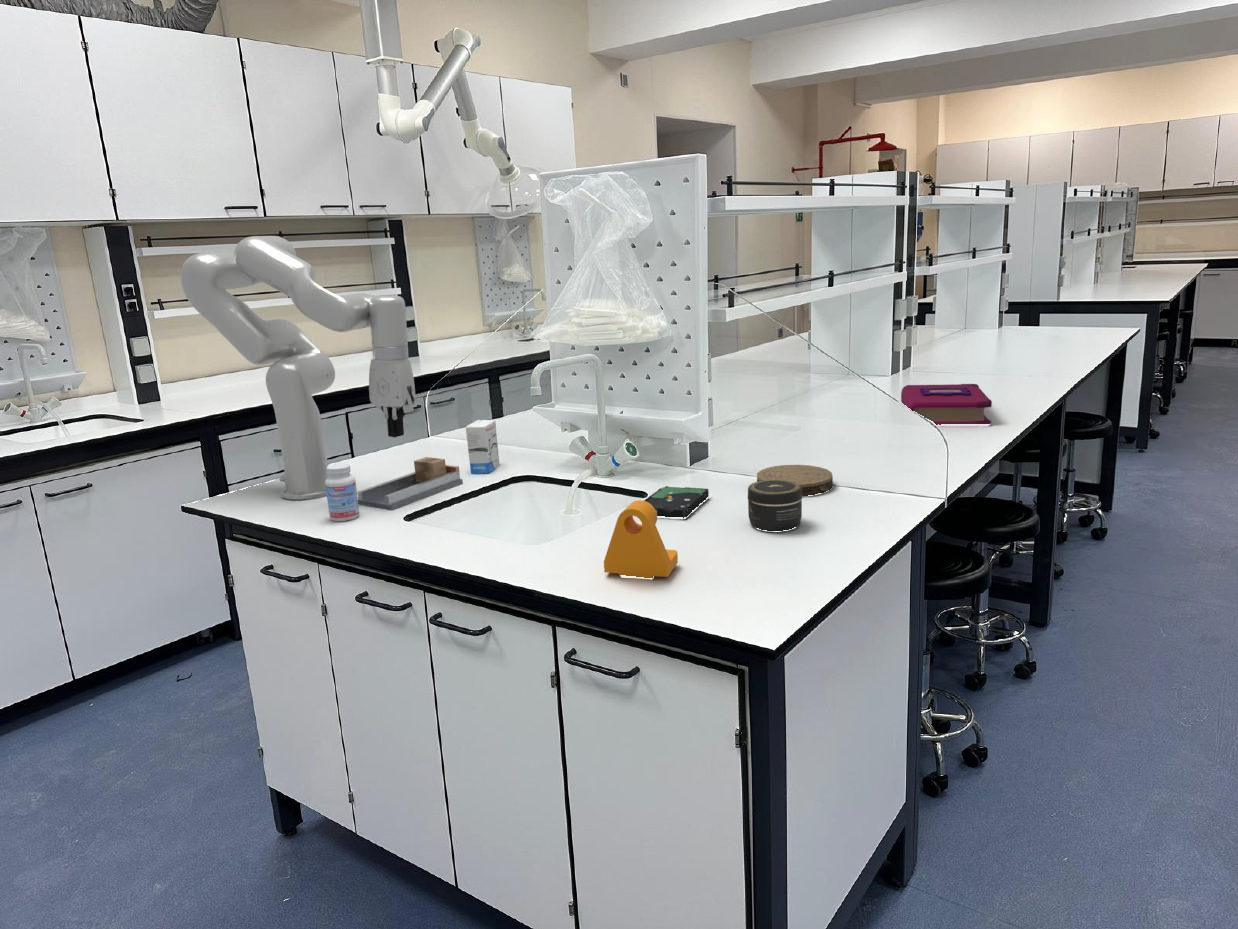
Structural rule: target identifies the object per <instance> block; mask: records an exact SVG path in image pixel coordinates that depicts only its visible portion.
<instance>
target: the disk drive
mask: <svg viewBox="0 0 1238 929" xmlns="http://www.w3.org/2000/svg"><path fill="white" fill-rule="evenodd" d="M708 496H709V488H703V487H702V488H701V487H699V488H698V487H689V486H686V487H680V486H679V487H675V486H668V485H666V486H662V487H661V488H659V489H657V491H655V492H653V493H652V494H651V495H650V496H647V498H646V499H644V500H643V501H646V502H648V503H650V504H651V505H652V506H653V507H654V508H655V510H656V513H657V516H665V517H683V518H684V517H687V516H688V515H689V514H690V513H691V512H692V510H694V509H695V508H696V507H698V506H699V504H700V503H702V502H703V501H704V500H706V498H707V497H708Z"/></svg>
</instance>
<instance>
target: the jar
mask: <svg viewBox="0 0 1238 929" xmlns="http://www.w3.org/2000/svg"><path fill="white" fill-rule="evenodd" d="M802 500H803V497H802V488H801V486H800V485H799V484H798V483H795V482H792V481H787V480H763V481H758V482H757V481H755V482H752V483H751V484H750V485H749V486H748V487H747V507H748V508H747V509H748V512H747V513H748V520H749V523H750V525H751V526H752V528H753V527H756V528H759V529H761V530H767V531H783V530H789V529H792V528H794V527H797V526H798V525H799V526H800V524H801V522H802V521H801V520H802V516H803V515H802V511H803V509H802V508H803V507H802V504H803V502H802ZM799 526H798V527H799ZM798 527H797V528H798Z"/></svg>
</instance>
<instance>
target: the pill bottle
mask: <svg viewBox="0 0 1238 929" xmlns="http://www.w3.org/2000/svg"><path fill="white" fill-rule="evenodd" d="M327 473H328V475H329V477H328V478H327V479H326V481H325V486H326V494H327V495H326V500H327V506H328V508H327V509H328V514H329V515H328V516H329V518H330V520H332V521H333V522H346V521H345V520H348V521H352V520H355V519H357V518H358V517H359V515H360V506H359V504H358V499H359V497H358V491H357V483H356V477H355V476H354V475H353V474H350V473H351V465H350V464H349V463H345V462H342V463H333V464H330V465H328V467H327Z"/></svg>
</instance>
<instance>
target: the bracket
mask: <svg viewBox="0 0 1238 929" xmlns="http://www.w3.org/2000/svg"><path fill="white" fill-rule="evenodd" d="M634 517H636V518H637V519H639V521H640V522H641V524H639V523H637V521H636V520H635V519H634ZM657 522H658V518H657V513H656V510H655V508H654V507H653V506H652V505H651V504H650V503H648V502H646V501H644V500H642V499H639V500H634V501H633V502H631V503H630V504H629V505H627V507H626V508H625V509H624V510H622V511H621V513H620V514H619V515H618V517H617V520H616V523H615V526H614V528H613V532H612V536H611V537H610V541H609V545H608V547H607V551H606V552H605V553H606V554H605V556H604V560H603V569H604V571H603V572H604V573H609V574H618V575H626V576H636V577H644V578H653V576H655V577H663V578H668V577H669V576H670V575H671V573H672V572H673V571H674V569H675V568H676V566H677V564H678V563H679V561H678V560H679V559H678V550H675V549H668V548H667V549H666V547H665V544H664V541H663V539H662V537H661V535H660V533H659V530H658V527H657V525H656V524H657Z"/></svg>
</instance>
